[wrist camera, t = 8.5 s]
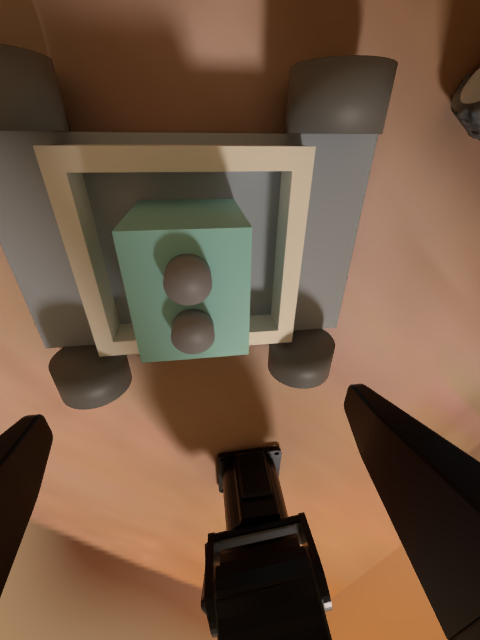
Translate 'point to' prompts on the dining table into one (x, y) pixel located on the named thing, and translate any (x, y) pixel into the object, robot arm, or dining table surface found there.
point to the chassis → (186, 183)
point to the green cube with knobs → (186, 277)
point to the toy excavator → (468, 104)
